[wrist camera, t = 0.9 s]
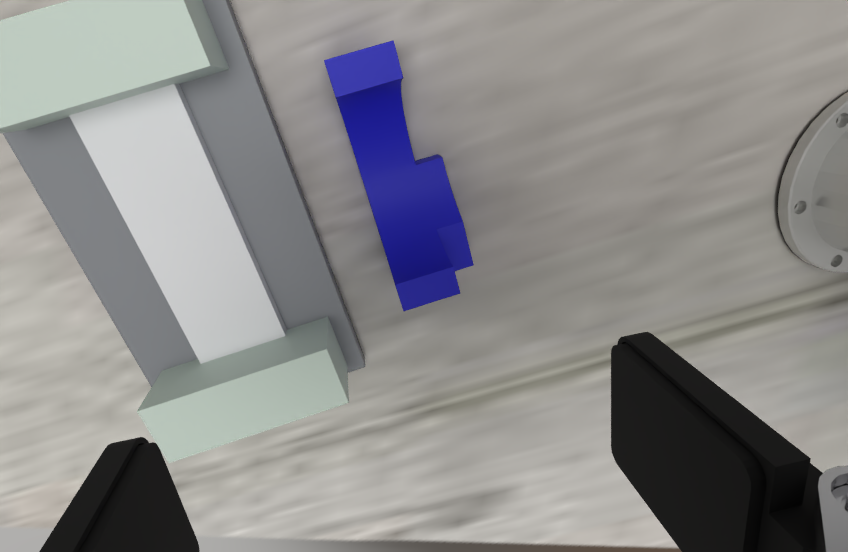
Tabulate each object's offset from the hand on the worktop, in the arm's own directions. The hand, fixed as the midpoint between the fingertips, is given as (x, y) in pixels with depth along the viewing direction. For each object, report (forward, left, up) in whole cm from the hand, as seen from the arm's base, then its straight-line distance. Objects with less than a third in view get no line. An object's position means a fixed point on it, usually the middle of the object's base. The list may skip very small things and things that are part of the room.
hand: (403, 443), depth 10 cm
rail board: (+9, -2, -20) cm, 22 cm away
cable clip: (-3, -2, -21) cm, 21 cm away
